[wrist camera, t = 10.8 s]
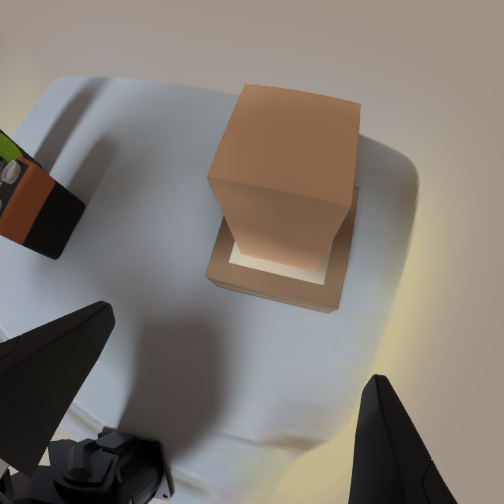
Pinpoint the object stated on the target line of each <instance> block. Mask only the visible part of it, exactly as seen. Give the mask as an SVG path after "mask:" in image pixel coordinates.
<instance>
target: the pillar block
mask: <svg viewBox="0 0 504 504" xmlns="http://www.w3.org/2000/svg"><path fill="white" fill-rule="evenodd" d="M360 105H361V104H358V103H354V102H351V101H346V100H342V99H337V98H333V97H328V96H323V95H318V94H313V93H307V92H302V91H296V90H289V89H283V88H275V87H268V86H258V85H249V84H245V86H244V88H243V90H242V93H241V95H240V97H239V99H238V101H237V104H236V106H235V108H234V111H233V113H232V115H231V118H230V120H229V122H228V125H227V127H226V130H225V132H224V135H223V137H222V139H221V142H220V144H219V147H218V149H217V152H216V154H215V157H214V160H213V162H212V165H211V167H210V170H209V172H208V175H207V179H208V181H209V183H210V186H211V188H212V190H213V192H214V195H215V197H216V199H217V201H218V204H219V206H220V208H221V210H222V213H223V215H224V217H225V219H226V221H227V224H228V226H229V228H230V230H231V233H232V235H233V237H234V239H235V242H236V244H237V246H238V248H239V250H240V253H241V254H242V255H246V256H250V257H255V258H259V259H263V260H268V261H272V262H276V263H280V264H285V265H289V266H293V267H297V268H302V269H306V270H310V271H316V269H317V268H318V266H319V264H320V262H321V261H322V259H323V257H324V255H325V253H326V252H327V250H328V248H329V246H330V244H331V243H332V241H333V239H334V237H335V235H336V234H337V232H338V230H339V228H340V226H341V224H342V222H343V221H344V219H345V217H346V215H347V213H348V211H349V209H350V207H351V202H352V194H353V186H354V178H355V169H356V159H357V148H358V136H359V122H360Z"/></svg>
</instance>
